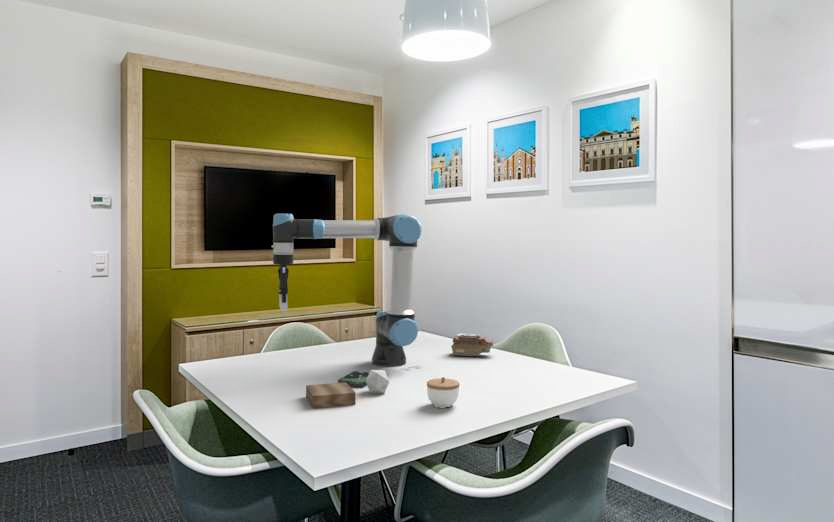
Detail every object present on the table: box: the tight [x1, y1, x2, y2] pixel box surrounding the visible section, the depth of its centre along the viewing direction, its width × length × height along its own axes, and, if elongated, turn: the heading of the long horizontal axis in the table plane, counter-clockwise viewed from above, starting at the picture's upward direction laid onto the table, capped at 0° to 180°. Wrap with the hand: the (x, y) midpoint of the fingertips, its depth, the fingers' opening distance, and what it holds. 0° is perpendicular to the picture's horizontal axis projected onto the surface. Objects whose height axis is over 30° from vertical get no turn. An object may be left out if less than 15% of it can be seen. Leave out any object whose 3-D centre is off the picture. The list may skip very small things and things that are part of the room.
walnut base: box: [305, 382, 357, 409], centre depth 189 cm, size 14×14×4 cm
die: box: [366, 369, 390, 394], centre depth 200 cm, size 8×9×10 cm
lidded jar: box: [426, 376, 460, 408], centre depth 185 cm, size 11×11×9 cm
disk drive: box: [337, 370, 370, 389], centre depth 214 cm, size 10×3×15 cm
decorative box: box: [451, 332, 494, 357], centre depth 266 cm, size 13×20×10 cm, turn 73°
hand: (283, 309), depth 216 cm, fingers open, 13 cm apart
